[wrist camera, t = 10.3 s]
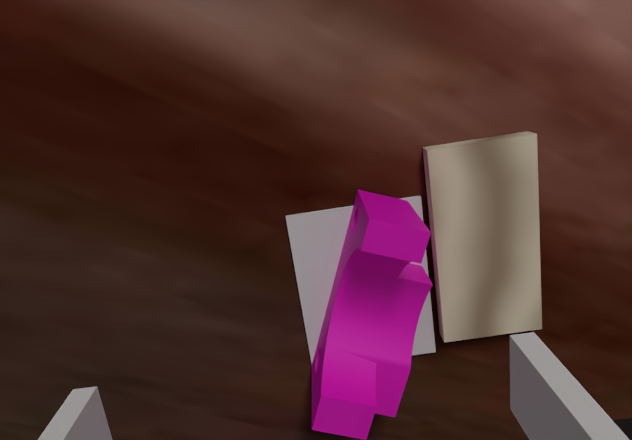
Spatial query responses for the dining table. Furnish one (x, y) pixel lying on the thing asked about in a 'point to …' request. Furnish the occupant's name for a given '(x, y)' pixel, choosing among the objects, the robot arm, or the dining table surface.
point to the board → (485, 235)
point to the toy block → (370, 317)
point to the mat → (321, 265)
